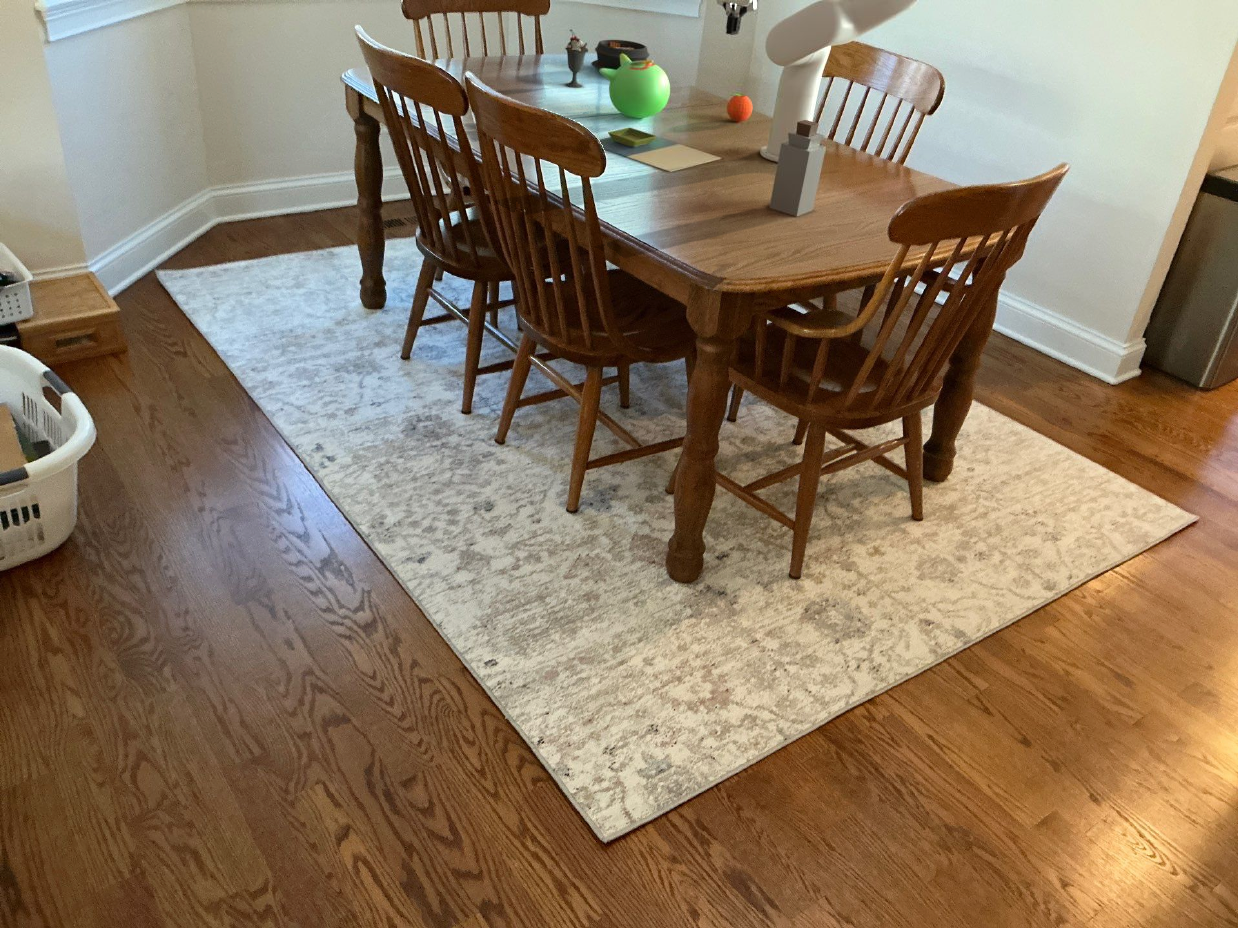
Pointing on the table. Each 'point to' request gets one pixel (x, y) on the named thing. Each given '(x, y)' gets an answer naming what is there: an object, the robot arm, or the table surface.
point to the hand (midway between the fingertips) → (732, 34)
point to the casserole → (618, 53)
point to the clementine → (739, 107)
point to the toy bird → (637, 87)
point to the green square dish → (631, 137)
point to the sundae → (575, 58)
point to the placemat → (660, 154)
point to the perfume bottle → (798, 170)
